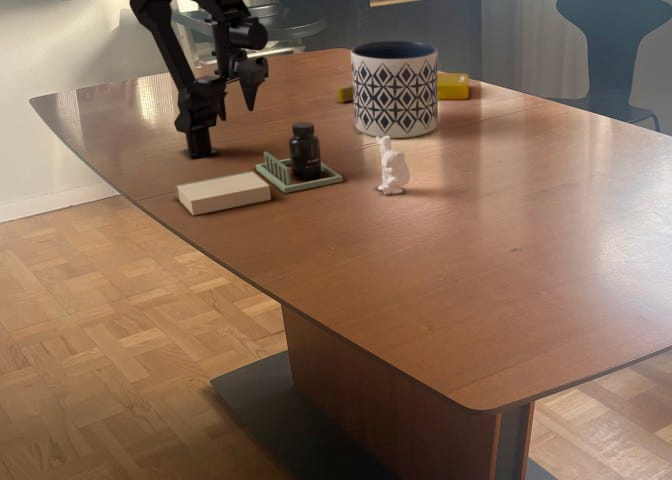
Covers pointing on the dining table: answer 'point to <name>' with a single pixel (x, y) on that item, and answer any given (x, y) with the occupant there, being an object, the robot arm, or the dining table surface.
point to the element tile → (453, 86)
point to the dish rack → (277, 164)
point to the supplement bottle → (305, 152)
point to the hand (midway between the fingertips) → (237, 115)
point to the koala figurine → (392, 168)
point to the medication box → (345, 93)
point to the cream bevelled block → (223, 192)
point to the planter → (395, 88)
